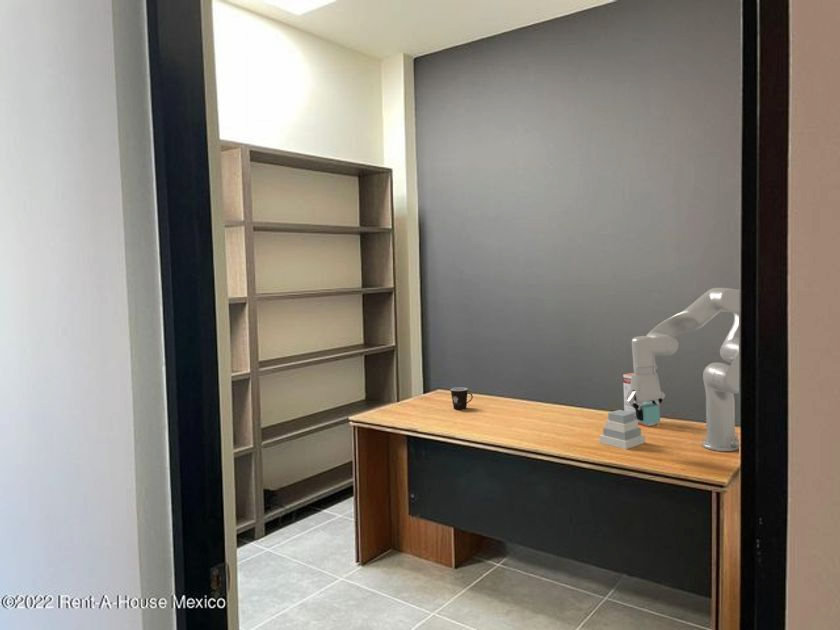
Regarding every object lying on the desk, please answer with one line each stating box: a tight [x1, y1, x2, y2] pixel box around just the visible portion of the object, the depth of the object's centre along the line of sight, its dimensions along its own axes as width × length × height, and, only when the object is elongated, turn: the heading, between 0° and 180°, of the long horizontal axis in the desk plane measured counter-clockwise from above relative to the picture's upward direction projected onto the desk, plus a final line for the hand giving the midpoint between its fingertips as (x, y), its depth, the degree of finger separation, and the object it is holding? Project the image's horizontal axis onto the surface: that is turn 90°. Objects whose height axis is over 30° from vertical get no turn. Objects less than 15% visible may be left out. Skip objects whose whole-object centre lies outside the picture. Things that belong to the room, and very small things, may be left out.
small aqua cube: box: [635, 402, 661, 424], centre depth 221 cm, size 6×6×6 cm
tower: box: [599, 409, 646, 450], centre depth 236 cm, size 12×12×12 cm
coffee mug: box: [450, 386, 474, 411], centre depth 304 cm, size 12×9×10 cm
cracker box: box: [622, 372, 658, 428], centre depth 262 cm, size 14×6×21 cm, turn 24°
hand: (647, 417), depth 221 cm, fingers closed on small aqua cube, 6 cm apart
